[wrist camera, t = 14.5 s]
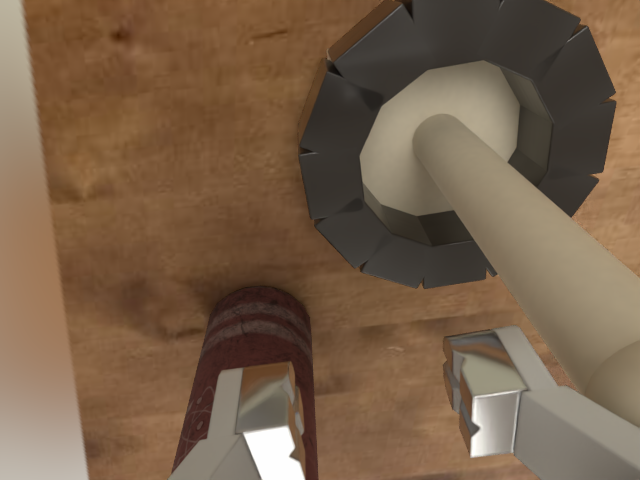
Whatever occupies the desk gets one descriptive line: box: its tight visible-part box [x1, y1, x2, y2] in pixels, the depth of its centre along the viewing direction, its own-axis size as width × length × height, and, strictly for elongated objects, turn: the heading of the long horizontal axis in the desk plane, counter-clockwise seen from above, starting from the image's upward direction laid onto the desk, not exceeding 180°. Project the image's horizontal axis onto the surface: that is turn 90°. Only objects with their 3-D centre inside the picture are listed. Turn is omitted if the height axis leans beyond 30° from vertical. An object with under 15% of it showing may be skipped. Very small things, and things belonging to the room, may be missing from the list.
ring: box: [298, 0, 616, 289], centre depth 19 cm, size 12×12×3 cm
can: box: [171, 286, 318, 480], centre depth 21 cm, size 6×6×14 cm
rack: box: [326, 49, 640, 428], centre depth 14 cm, size 9×9×18 cm
